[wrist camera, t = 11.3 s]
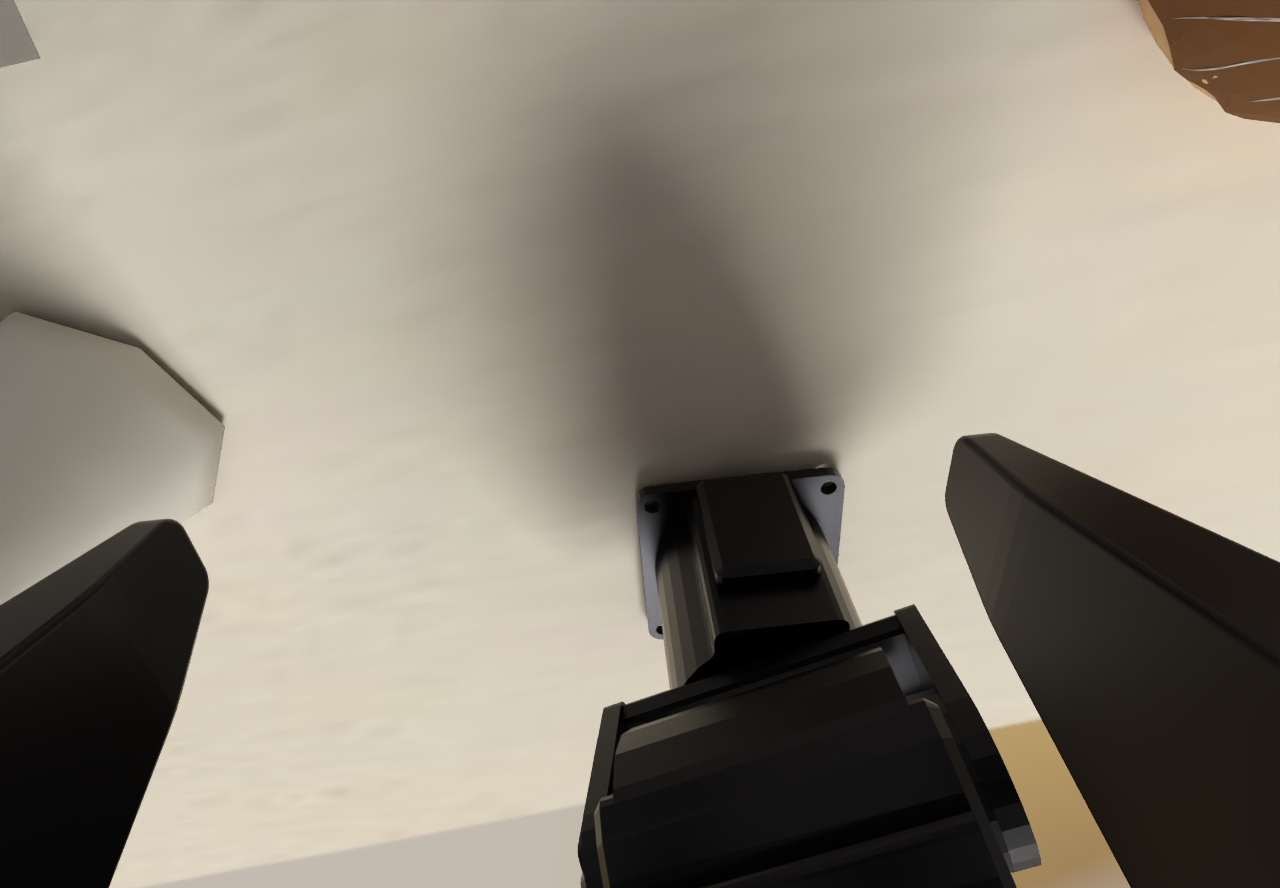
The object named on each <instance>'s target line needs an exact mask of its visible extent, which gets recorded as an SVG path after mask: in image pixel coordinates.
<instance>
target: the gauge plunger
mask: <svg viewBox="0 0 1280 888" xmlns="http://www.w3.org/2000/svg"><path fill="white" fill-rule="evenodd" d="M39 58H40V56H39V54H38V52H37V49H36V47H35V45H34V43H33V41H32V39H31V37H30V34H29V32H28V30H27V28H26V26H25V24H24V21H23V19H22V17H21V15H20V13H19V11H18V9H17V6H16V4H15V2H14V0H0V67H4V66H9V65H13V64H17V63H22V62H26V61H30V60H35V59H39Z"/></svg>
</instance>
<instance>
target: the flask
mask: <svg viewBox="0 0 1280 888" xmlns="http://www.w3.org/2000/svg"><path fill="white" fill-rule="evenodd" d="M224 429H225V426H224V425H223V424H222V423H221V422H220V421H219V420H217V419H216V418H215V417H214V416H213V415H212V414H211V413H210V412H209V411H208V410H207V409H206V408H204V407H203V406H202V405H201V404H200V403H199V402H198V401H197V400H196V399H195V398H194V397H192V396H191V395H190V394H189V393H188V392H187V391H186V390H185V389H184V388H183V387H182V386H180V385H179V384H178V383H177V382H176V381H175V380H174V379H173V378H172V377H171V376H170V375H168V374H167V373H166V372H165V371H164V370H163V369H162V368H161V367H160V366H159V365H158V364H156V363H155V362H154V361H153V360H152V359H151V358H150V357H149V356H148V355H147V354H146V353H144V352H143V351H142V350H141V349H140V348H137V347H134V346H131V345H127V344H124V343H121V342H117V341H114V340H110V339H107V338H104V337H100V336H97V335H93V334H90V333H87V332H83V331H80V330H77V329H73V328H70V327H66V326H63V325H60V324H56V323H53V322H50V321H46V320H43V319H39V318H36V317H33V316H29V315H26V314H22V313H19V312H16V311H14V312H13V313H12V314H10V315H9V316H8V317H6V318H5V319H3V320H2V321H1V322H0V605H1V604H3V603H5V602H6V601H8V600H9V599H11V598H13V597H14V596H16V595H18V594H19V593H21V592H22V591H24V590H26V589H27V588H29V587H31V586H32V585H34V584H35V583H37V582H39V581H40V580H42V579H44V578H45V577H47V576H48V575H50V574H52V573H53V572H55V571H57V570H58V569H60V568H61V567H63V566H65V565H66V564H68V563H70V562H71V561H73V560H74V559H76V558H78V557H79V556H81V555H83V554H84V553H86V552H87V551H89V550H91V549H92V548H94V547H95V546H97V545H99V544H100V543H102V542H104V541H105V540H107V539H108V538H110V537H112V536H113V535H115V534H117V533H118V532H120V531H121V530H123V529H125V528H126V527H128V526H130V525H131V524H133V523H136V522H140V521H149V520H158V519H173V520H176V521H178V522H179V523H180V522H182V521H184V520H186V519H187V518H189V517H191V516H192V515H194V514H195V513H197V512H198V511H200V510H202V509H203V508H205V507H206V506H208V505H209V504H211V503H213V498H214V492H215V486H216V479H217V473H218V467H219V460H220V454H221V448H222V441H223V435H224Z"/></svg>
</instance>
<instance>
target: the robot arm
mask: <svg viewBox="0 0 1280 888" xmlns="http://www.w3.org/2000/svg"><path fill="white" fill-rule="evenodd" d="M826 482H832V484H830V485H829V486H827V487H821V486H822V485H823V484H824V483H826ZM844 488H845V485H844V481H843V479H842V477H841V475H840V473H839V472H838V471H837V470H835V469H833V468H819V469H809V470H799V471H790V472H776V473H767V474H757V475H748V476H738V477H728V478H719V479H709V480H704V481H694V482H685V483H675V484H666V485H656V486H649V487H645V488H643V489H642V490H640V491H639V492H638V494H637V495H636V509H637V519H638V529H639V539H640V548H641V558H642V568H643V578H644V588H645V598H646V608H647V618H648V628H649V633H650V635H651V636H653V637H654V638H657V639H664V645H665V653H666V661H667V669H668V676H669V684H670V690H667V691H664V692H661V693H658V694H655V695H652V696H649V697H646V698H643V699H640V700H637V701H634V702H631V703H628V704H625V703H624V702H620V703H617V704H614V705H611V706H608V707H605V708H604V709H603V714H602V719H601V725H600V730H599V735H598V739H597V745H596V750H595V756H594V761H593V767H592V772H591V777H590V783H589V788H588V793H587V799H586V804H585V809H584V814H583V822H582V827H581V832H580V838H579V843H578V858H579V862H580V865H581V868H582V871H583V873H582V877H581V888H1016V885H1015V883H1014V880H1013V878H1012V875H1011V873H1010V872H1012V873H1013V872H1017V871H1021V870H1025V869H1028V868H1032V867H1036V866H1039V865H1041V858H1040V854H1039V850H1038V847H1037V843H1036V840H1035V837H1034V835H1033V832H1032V829H1031V826H1030V823H1029V821H1028V818H1027V816H1026V813H1025V811H1024V808H1023V806H1022V803H1021V801H1020V799H1019V796H1018V794H1017V792H1016V789H1015V787H1014V784H1013V782H1012V780H1011V777H1010V775H1009V773H1008V771H1007V769H1006V766H1005V764H1004V762H1003V760H1002V758H1001V756H1000V754H999V751H998V749H997V747H996V745H995V743H994V741H993V739H992V737H991V735H990V733H989V731H988V729H987V727H986V725H985V723H984V721H983V719H982V717H981V715H980V713H979V711H978V709H977V708H976V706H975V704H974V702H973V701H972V699H971V697H970V695H969V694H968V692H967V691H966V689H965V687H964V686H963V684H962V682H961V681H960V679H959V677H958V676H957V674H956V672H955V671H954V669H953V667H952V666H951V664H950V662H949V661H948V659H947V658H946V656H945V654H944V653H943V651H942V649H941V648H940V646H939V644H938V643H937V641H936V639H935V638H934V636H933V634H932V633H931V631H930V629H929V628H928V626H927V625H926V623H925V621H924V620H923V618H922V616H921V615H920V613H919V611H918V610H917V608H916V606H915V605H914V604H913V605H910V606H907V607H904V608H901V609H898V610H895V611H894V614H895V615H893V616H890V617H887V618H884V619H881V620H878V621H875V622H872V623H869V624H866V625H863V626H862V624H861V621H860V619H859V617H858V614H857V612H856V610H855V607H854V605H853V602H852V600H851V598H850V595H849V593H848V590H847V588H846V586H845V583H844V581H843V578H842V576H841V574H840V571H839V569H838V566H837V563H838V552H839V542H840V531H841V520H842V510H843V499H844ZM651 500H656V501H658V503H657V504H654V505H647V504H646V503H647V502H648V501H651ZM945 502H946V508H947V512H948V515H949V517H950V520H951V523H952V525H953V528H954V530H955V533H956V535H957V538H958V541H959V543H960V546H961V548H962V551H963V554H964V556H965V559H966V561H967V564H968V566H969V569H970V572H971V574H972V577H973V579H974V582H975V585H976V587H977V590H978V592H979V595H980V597H981V600H982V603H983V605H984V607H985V610H986V612H987V614H988V617H989V619H990V622H991V624H992V626H993V628H994V630H995V632H996V634H997V636H998V638H999V640H1000V642H1001V643H1002V645H1003V647H1004V649H1005V651H1006V653H1007V655H1008V657H1009V659H1010V660H1011V662H1012V664H1013V666H1014V668H1015V670H1016V672H1017V674H1018V676H1019V677H1020V679H1021V681H1022V683H1023V685H1024V687H1025V689H1026V691H1027V693H1028V694H1029V696H1030V698H1031V700H1032V702H1033V704H1034V706H1035V708H1036V710H1037V711H1038V713H1039V715H1040V717H1041V719H1042V721H1043V723H1044V725H1045V726H1046V728H1047V730H1048V732H1049V734H1050V736H1051V738H1052V740H1053V741H1054V743H1055V745H1056V747H1057V749H1058V751H1059V753H1060V755H1061V757H1062V759H1063V760H1064V762H1065V764H1066V766H1067V768H1068V770H1069V771H1070V774H1071V775H1072V777H1073V779H1074V781H1075V783H1076V785H1077V787H1078V789H1079V790H1080V793H1081V794H1082V796H1083V798H1084V800H1085V802H1086V804H1087V806H1088V808H1089V809H1090V811H1091V813H1092V815H1093V817H1094V819H1095V821H1096V823H1097V825H1098V827H1099V828H1100V830H1101V832H1102V834H1103V836H1104V838H1105V840H1106V842H1107V844H1108V845H1109V847H1110V849H1111V851H1112V853H1113V855H1114V857H1115V859H1116V860H1117V862H1118V864H1119V866H1120V868H1121V870H1122V872H1123V874H1124V876H1125V877H1126V879H1127V881H1128V883H1129V885H1130V887H1131V888H1280V562H1278V561H1276V560H1274V559H1272V558H1269V557H1267V556H1265V555H1263V554H1261V553H1258V552H1256V551H1254V550H1252V549H1250V548H1247V547H1245V546H1243V545H1241V544H1239V543H1236V542H1234V541H1232V540H1230V539H1228V538H1225V537H1223V536H1221V535H1219V534H1217V533H1214V532H1212V531H1210V530H1208V529H1206V528H1203V527H1201V526H1199V525H1197V524H1195V523H1192V522H1190V521H1188V520H1186V519H1184V518H1181V517H1179V516H1177V515H1175V514H1173V513H1170V512H1168V511H1166V510H1164V509H1162V508H1159V507H1157V506H1155V505H1153V504H1151V503H1148V502H1146V501H1144V500H1142V499H1140V498H1137V497H1135V496H1133V495H1131V494H1129V493H1126V492H1124V491H1122V490H1120V489H1118V488H1115V487H1113V486H1111V485H1109V484H1107V483H1104V482H1102V481H1100V480H1098V479H1096V478H1093V477H1091V476H1089V475H1087V474H1085V473H1082V472H1080V471H1078V470H1076V469H1074V468H1071V467H1069V466H1067V465H1065V464H1063V463H1060V462H1058V461H1056V460H1054V459H1052V458H1049V457H1047V456H1045V455H1043V454H1041V453H1038V452H1036V451H1034V450H1032V449H1030V448H1027V447H1025V446H1023V445H1021V444H1019V443H1016V442H1014V441H1012V440H1010V439H1008V438H1005V437H1003V436H1001V435H999V434H996V433H986V434H977V435H967V436H962V437H961V438H960V439H958V440H957V442H956V444H955V446H954V449H953V455H952V460H951V465H950V471H949V476H948V481H947V487H946V493H945ZM208 588H209V580H208V574H207V571H206V568H205V566H204V565H203V563H202V561H201V559H200V557H199V555H198V553H197V551H196V550H195V548H194V546H193V544H192V542H191V540H190V538H189V537H188V535H187V533H186V531H185V529H184V528H183V526H182V525H181V524H180V523H179V522H178V521H176V520H173V519H158V520H149V521H140V522H136V523H133V524H131V525H130V526H128V527H126V528H125V529H123V530H121V531H120V532H118V533H117V534H115V535H113V536H112V537H110V538H108V539H107V540H105V541H104V542H102V543H100V544H99V545H97V546H95V547H94V548H92V549H91V550H89V551H87V552H86V553H84V554H83V555H81V556H79V557H78V558H76V559H74V560H73V561H71V562H70V563H68V564H66V565H65V566H63V567H61V568H60V569H58V570H57V571H55V572H53V573H52V574H50V575H48V576H47V577H45V578H44V579H42V580H40V581H39V582H37V583H35V584H34V585H32V586H31V587H29V588H27V589H26V590H24V591H22V592H21V593H19V594H18V595H16V596H14V597H13V598H11V599H9V600H8V601H6V602H5V603H3V604H1V605H0V888H109V886H110V883H111V881H112V878H113V875H114V873H115V870H116V868H117V865H118V862H119V860H120V857H121V855H122V852H123V849H124V847H125V844H126V842H127V839H128V836H129V834H130V831H131V829H132V826H133V823H134V821H135V818H136V815H137V813H138V810H139V808H140V805H141V802H142V800H143V797H144V795H145V792H146V789H147V787H148V784H149V782H150V779H151V776H152V774H153V771H154V769H155V766H156V763H157V761H158V758H159V756H160V753H161V750H162V748H163V745H164V743H165V740H166V737H167V735H168V732H169V730H170V727H171V724H172V721H173V718H174V715H175V713H176V710H177V706H178V703H179V700H180V696H181V693H182V690H183V686H184V682H185V678H186V674H187V671H188V667H189V663H190V659H191V655H192V651H193V648H194V644H195V640H196V636H197V632H198V629H199V625H200V621H201V617H202V613H203V609H204V606H205V602H206V598H207V594H208ZM659 625H662V626H659Z"/></svg>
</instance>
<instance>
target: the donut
mask: <svg viewBox="0 0 1280 888" xmlns="http://www.w3.org/2000/svg"><path fill="white" fill-rule="evenodd" d="M1139 3H1140V6H1141V10H1142V13H1143V17H1144V19H1145V22H1146V24H1147V26H1148V28H1149V30H1150V32H1151V34H1152V36H1153V38H1154V40H1155V42H1156V43H1157V45H1158V46H1159V48H1160V49H1161V50H1162V52H1163V53H1164V54H1165V56H1166V57H1167V59H1168V60H1169V61H1170V63H1171V64H1172V66H1173V67H1174V70H1175V71H1177V72H1178V73H1179V74H1180V75H1182V76H1183V77H1184V78H1185V79H1187V80H1188V81H1189V82H1190V83H1191V84H1192V85H1193V86H1194V87H1195V88H1197V89H1198V90H1200V91H1201V92H1203V93H1204V94H1206V95H1208V96H1209V97H1211V98H1212V99H1214V100H1216V101H1217V102H1219V104H1220V105H1221V107H1222V108H1223V109H1224V111H1225V112H1226V113H1229V114H1232V115H1235V116H1238V117H1241V118H1244V119H1251V120H1259V121H1267V122H1275V123H1280V0H1139Z"/></svg>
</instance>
